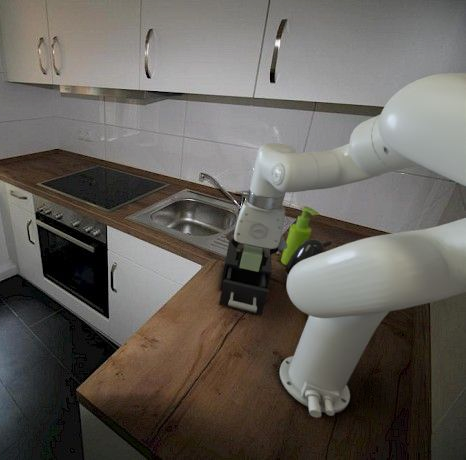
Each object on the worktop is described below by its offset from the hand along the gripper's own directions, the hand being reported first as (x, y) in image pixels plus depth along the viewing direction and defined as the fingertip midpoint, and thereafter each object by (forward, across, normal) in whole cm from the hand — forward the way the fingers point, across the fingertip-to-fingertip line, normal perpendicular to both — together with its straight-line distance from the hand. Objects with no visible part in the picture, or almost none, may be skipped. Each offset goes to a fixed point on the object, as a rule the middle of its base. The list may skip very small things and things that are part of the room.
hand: (249, 264), depth 81 cm
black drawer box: (+13, 0, +11) cm, 17 cm away
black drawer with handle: (+12, 0, 0) cm, 12 cm away
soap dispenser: (+13, +15, +28) cm, 34 cm away
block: (0, 0, 0) cm, 0 cm away
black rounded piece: (+13, +17, +17) cm, 27 cm away
